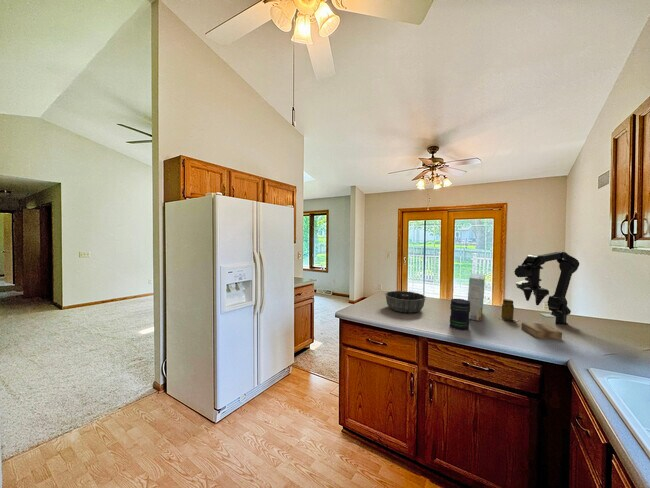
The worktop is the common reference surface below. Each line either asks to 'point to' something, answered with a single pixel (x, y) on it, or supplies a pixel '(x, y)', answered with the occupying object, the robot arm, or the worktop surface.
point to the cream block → (547, 320)
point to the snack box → (476, 296)
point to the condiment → (507, 310)
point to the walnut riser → (541, 331)
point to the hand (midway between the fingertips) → (532, 302)
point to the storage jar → (460, 314)
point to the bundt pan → (405, 301)
